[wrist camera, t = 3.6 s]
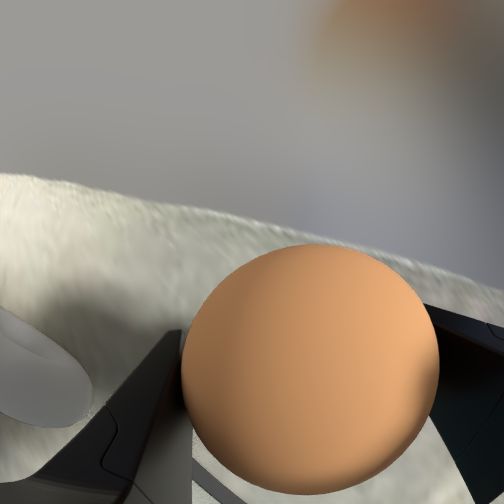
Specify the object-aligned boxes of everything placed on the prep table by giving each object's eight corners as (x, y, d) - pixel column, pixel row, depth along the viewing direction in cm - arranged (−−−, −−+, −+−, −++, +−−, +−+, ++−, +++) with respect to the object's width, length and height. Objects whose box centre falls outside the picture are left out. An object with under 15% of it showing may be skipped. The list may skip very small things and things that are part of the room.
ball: (398, 367, 10) (524, 334, 4) (285, 490, 8) (348, 584, 2) (285, 257, 11) (335, 139, 6) (158, 370, 9) (72, 349, 4)
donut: (4, 349, 15) (-94, 312, 6) (21, 310, 17) (-73, 255, 8) (106, 429, 15) (8, 457, 5) (126, 384, 16) (32, 379, 7)
